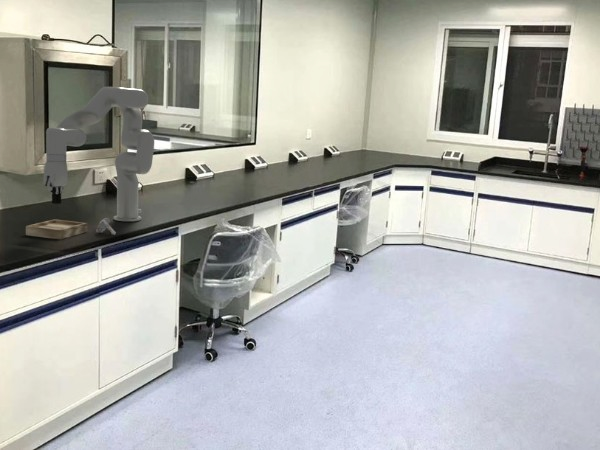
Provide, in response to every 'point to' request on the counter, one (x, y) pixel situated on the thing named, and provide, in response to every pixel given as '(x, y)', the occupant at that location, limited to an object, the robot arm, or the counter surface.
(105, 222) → the stand
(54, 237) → the beech platter
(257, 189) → the counter surface
